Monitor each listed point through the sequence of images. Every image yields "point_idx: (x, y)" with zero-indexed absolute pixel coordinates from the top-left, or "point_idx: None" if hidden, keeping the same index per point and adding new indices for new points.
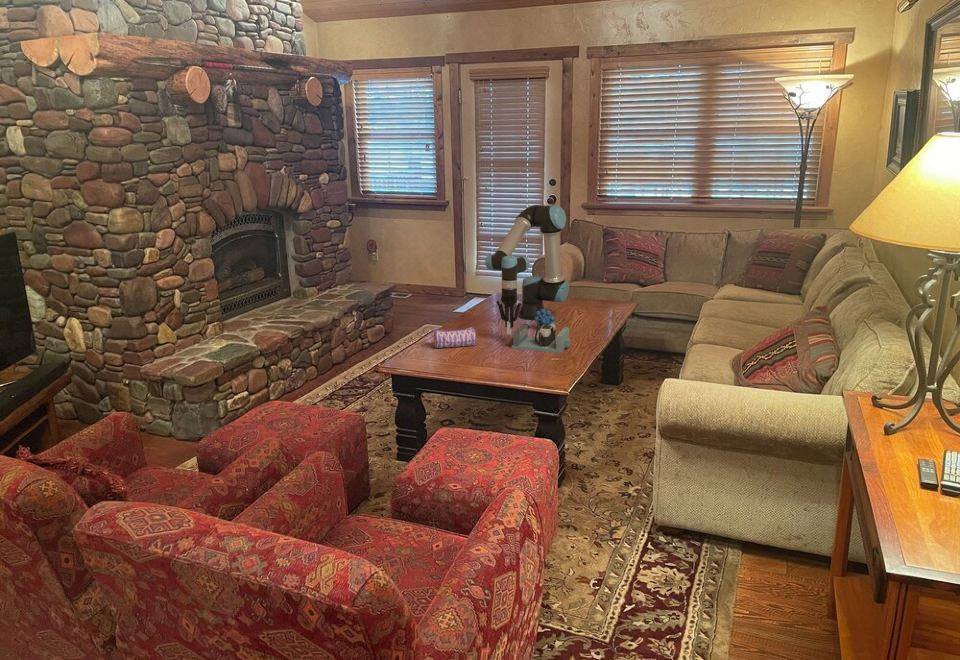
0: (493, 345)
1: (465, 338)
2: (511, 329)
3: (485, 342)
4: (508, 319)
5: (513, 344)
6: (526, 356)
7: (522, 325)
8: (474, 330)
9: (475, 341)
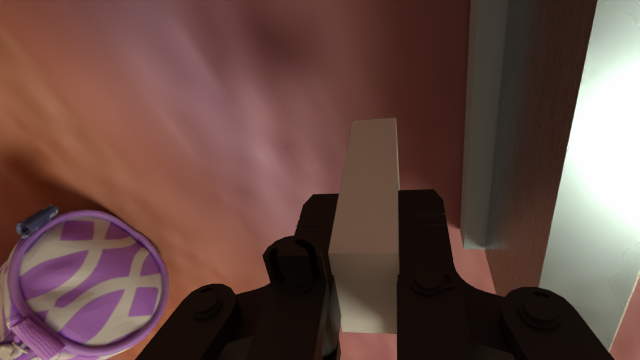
0: (277, 208)
1: (110, 357)
2: (396, 145)
3: (170, 161)
4: (329, 291)
5: (474, 221)
6: (630, 344)
7: (634, 36)
8: (83, 354)
9: (165, 301)
